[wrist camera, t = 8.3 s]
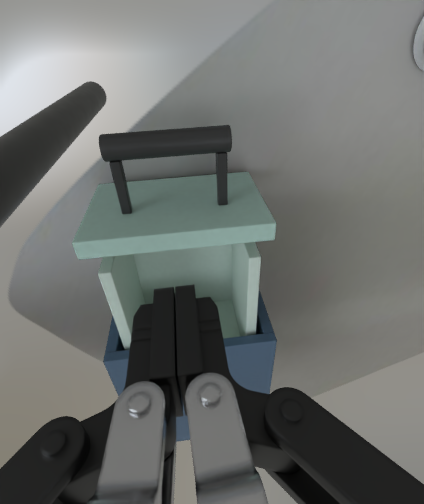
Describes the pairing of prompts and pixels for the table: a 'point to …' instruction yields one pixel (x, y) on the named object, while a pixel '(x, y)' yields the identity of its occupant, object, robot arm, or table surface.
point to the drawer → (177, 229)
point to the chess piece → (419, 46)
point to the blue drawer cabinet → (237, 352)
